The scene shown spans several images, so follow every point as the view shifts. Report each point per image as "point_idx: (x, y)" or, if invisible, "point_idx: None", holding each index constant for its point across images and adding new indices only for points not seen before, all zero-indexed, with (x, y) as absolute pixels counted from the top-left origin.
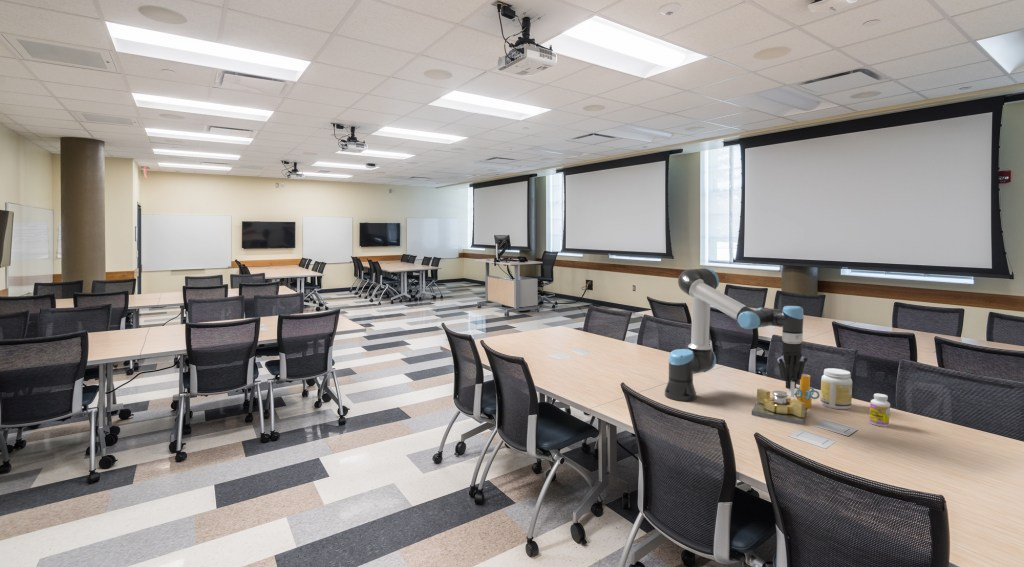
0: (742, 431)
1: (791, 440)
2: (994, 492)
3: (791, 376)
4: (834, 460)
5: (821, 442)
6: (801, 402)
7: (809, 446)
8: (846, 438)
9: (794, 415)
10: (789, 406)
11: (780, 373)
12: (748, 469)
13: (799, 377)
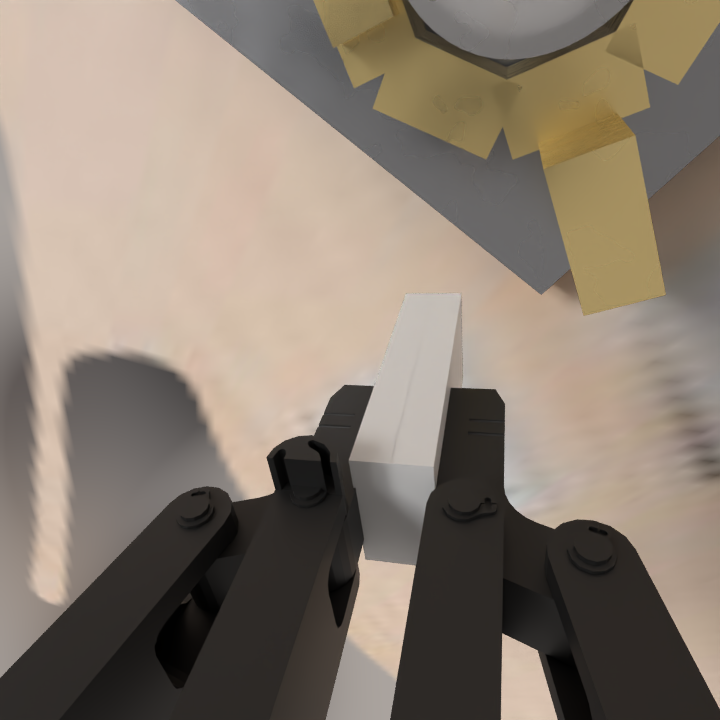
0: (56, 327)
1: None
2: None
3: (334, 677)
4: (375, 614)
5: None
6: (633, 265)
7: None
8: (663, 495)
9: None
10: (538, 125)
11: (72, 612)
12: (47, 584)
13: (570, 677)
